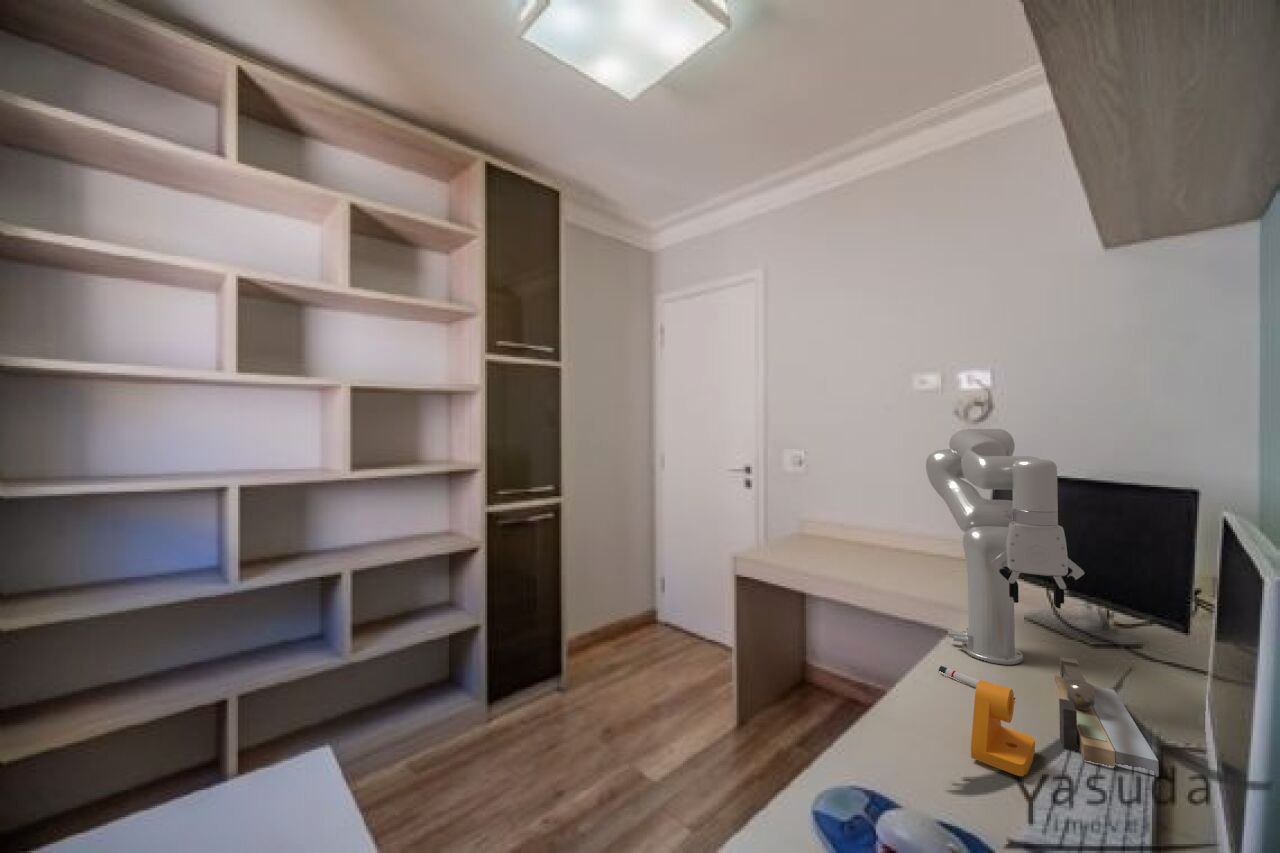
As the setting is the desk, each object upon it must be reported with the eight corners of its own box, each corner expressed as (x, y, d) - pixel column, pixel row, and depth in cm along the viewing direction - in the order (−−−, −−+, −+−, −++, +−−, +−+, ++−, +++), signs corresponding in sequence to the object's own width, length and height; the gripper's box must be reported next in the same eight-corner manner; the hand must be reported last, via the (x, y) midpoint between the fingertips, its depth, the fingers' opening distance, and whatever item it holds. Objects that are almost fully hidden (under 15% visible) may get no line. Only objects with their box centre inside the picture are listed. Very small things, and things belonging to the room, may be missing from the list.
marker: (938, 675, 120) (938, 666, 120) (943, 673, 121) (943, 664, 121) (1013, 705, 107) (1013, 696, 107) (1018, 703, 108) (1018, 693, 108)
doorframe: (1067, 757, 89) (1066, 717, 89) (1042, 686, 114) (1041, 654, 114) (1160, 780, 83) (1160, 736, 84) (1113, 700, 108) (1112, 666, 108)
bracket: (1023, 783, 84) (1022, 708, 84) (971, 762, 89) (970, 691, 89) (1036, 753, 91) (1035, 684, 91) (987, 735, 96) (986, 670, 96)
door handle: (1097, 709, 97) (1096, 690, 97) (1069, 704, 99) (1069, 685, 99) (1080, 677, 109) (1080, 660, 109) (1056, 673, 111) (1056, 656, 111)
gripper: (986, 517, 111) (987, 602, 111) (1092, 524, 102) (1094, 616, 102) (984, 512, 117) (985, 592, 117) (1084, 518, 108) (1085, 605, 108)
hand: (1036, 602), depth 109 cm, fingers open, 6 cm apart
